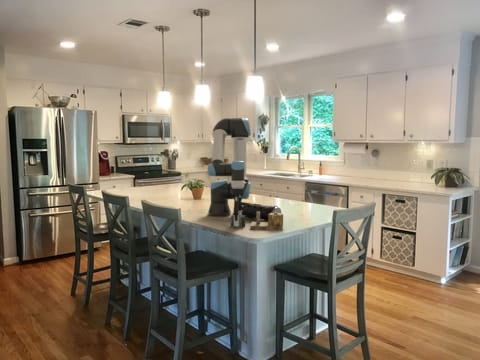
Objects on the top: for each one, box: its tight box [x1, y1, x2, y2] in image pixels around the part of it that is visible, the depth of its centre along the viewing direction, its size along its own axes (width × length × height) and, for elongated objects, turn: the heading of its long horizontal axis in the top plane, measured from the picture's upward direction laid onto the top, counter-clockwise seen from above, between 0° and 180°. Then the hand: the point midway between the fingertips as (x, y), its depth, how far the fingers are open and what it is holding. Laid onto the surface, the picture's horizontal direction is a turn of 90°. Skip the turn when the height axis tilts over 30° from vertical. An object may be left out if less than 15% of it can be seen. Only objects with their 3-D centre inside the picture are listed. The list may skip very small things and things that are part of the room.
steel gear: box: [230, 214, 246, 228], centre depth 229 cm, size 8×8×6 cm
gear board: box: [250, 212, 284, 231], centre depth 225 cm, size 18×11×9 cm, turn 83°
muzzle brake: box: [242, 201, 282, 222], centre depth 246 cm, size 10×28×10 cm, turn 51°
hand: (238, 223), depth 229 cm, fingers open, 13 cm apart
